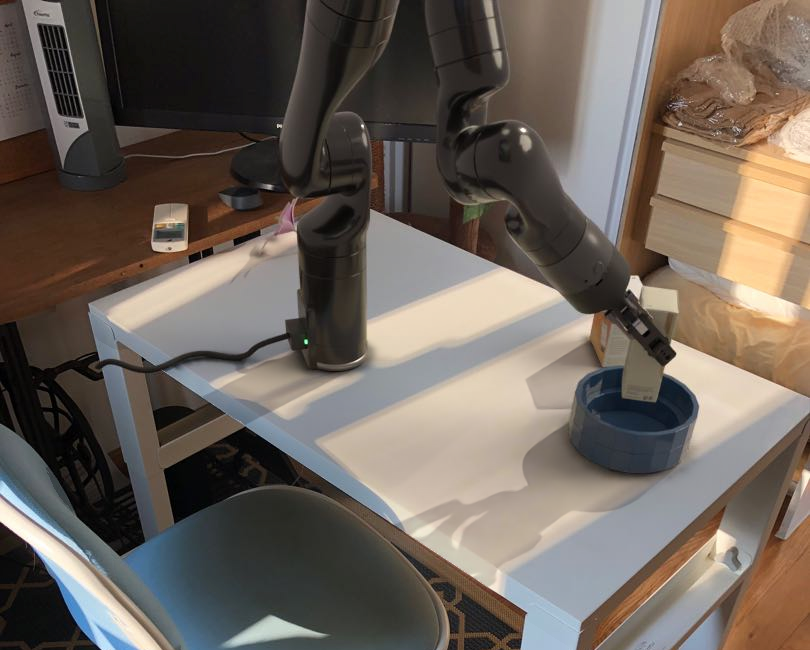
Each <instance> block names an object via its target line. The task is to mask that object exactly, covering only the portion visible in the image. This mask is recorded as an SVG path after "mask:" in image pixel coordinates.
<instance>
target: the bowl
mask: <svg viewBox="0 0 810 650" xmlns="http://www.w3.org/2000/svg"><path fill="white" fill-rule="evenodd" d="M623 370H624V366H621V365H618V366H611V367H601V368H598V369H595V370H593V371H590V372H588V373H586V375H584V376H583V377H582V378H580V380H579V381H578V382H577V384H576V388H575V390H574V394H573V401H572V405H571V410H570V417H569V422H568V428H567V429H568V434H569V439H570V442H571V443H572V444H573V446H574V447H575V449H576V450H577V451H578V452H579V453H580V454H582V455H583V456H584V457H586V458H587V459H588V460H590V461H591V462H593V463H595V464H597V465H599V466H603V467H605V468H607V469H610V470H614V471H619V472H623V473H626V474H627V473H629V474H650V473H656V472H662V471H666V470H668V469H670V468H672V467H674V466H675V465H678V464H680V462H681V461H682V460H683V459H684V457H686V455H687V454H688V450H689V447H690V443H691V440H692V436H693V433H694V430H695V426H696V423H697V420H698V416H699V411H700V405H699V402H698V399H697V397H696V394H695V393H694V392H693V391H692V390H691V389H690V388H689V386H688V385H686V384H685V383H683V382H682V381H680V380H679V379H677V378H676V377H674V376H672V375H670V374H667V373H664V372H663V376H662V380H661V384H660V388H659V392H658V396H657V400H656V402H648V401H640V400H633V399H626V398H622V375H623Z"/></svg>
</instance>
